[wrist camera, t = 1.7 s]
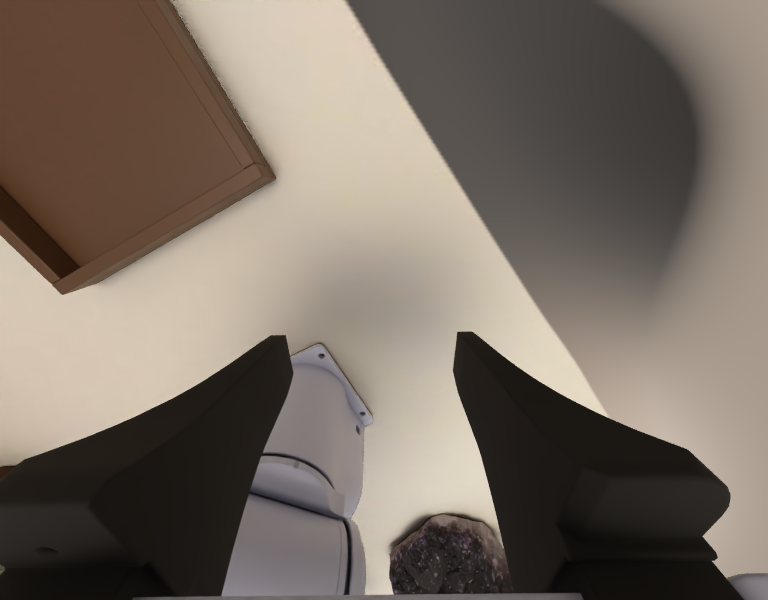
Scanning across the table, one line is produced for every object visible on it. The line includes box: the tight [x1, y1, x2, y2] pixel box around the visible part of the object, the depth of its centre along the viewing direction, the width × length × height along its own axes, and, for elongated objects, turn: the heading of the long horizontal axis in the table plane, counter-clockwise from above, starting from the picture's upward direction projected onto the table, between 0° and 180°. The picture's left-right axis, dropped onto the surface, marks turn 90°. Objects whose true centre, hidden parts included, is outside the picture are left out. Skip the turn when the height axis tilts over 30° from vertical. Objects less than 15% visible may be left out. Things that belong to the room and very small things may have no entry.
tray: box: [0, 0, 276, 295], centre depth 14 cm, size 19×16×2 cm
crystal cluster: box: [389, 514, 514, 595], centre depth 30 cm, size 13×14×10 cm
